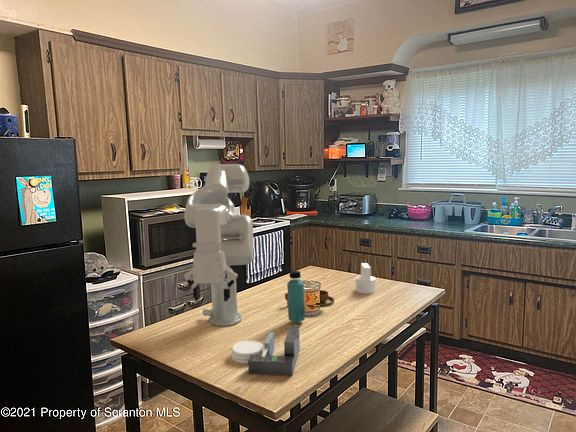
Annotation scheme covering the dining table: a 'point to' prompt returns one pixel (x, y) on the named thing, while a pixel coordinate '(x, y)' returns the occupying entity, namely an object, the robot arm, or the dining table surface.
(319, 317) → the dining table surface
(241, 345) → the white round tin
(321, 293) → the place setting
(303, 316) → the beverage bottle
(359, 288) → the cylinder with rectangular tab
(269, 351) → the gauge plunger
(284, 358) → the frame
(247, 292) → the dining table surface
